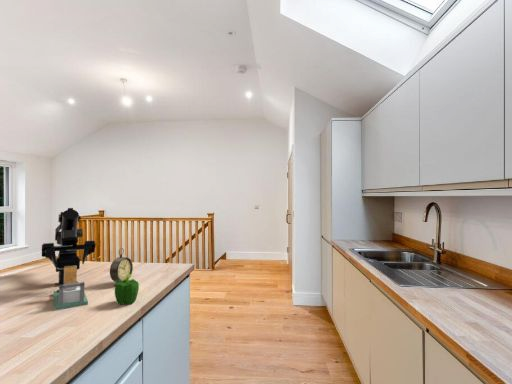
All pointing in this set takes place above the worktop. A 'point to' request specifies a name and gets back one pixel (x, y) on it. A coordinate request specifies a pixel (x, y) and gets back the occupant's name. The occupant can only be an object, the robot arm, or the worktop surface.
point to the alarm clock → (121, 268)
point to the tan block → (70, 276)
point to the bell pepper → (126, 291)
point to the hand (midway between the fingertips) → (69, 265)
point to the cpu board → (67, 305)
